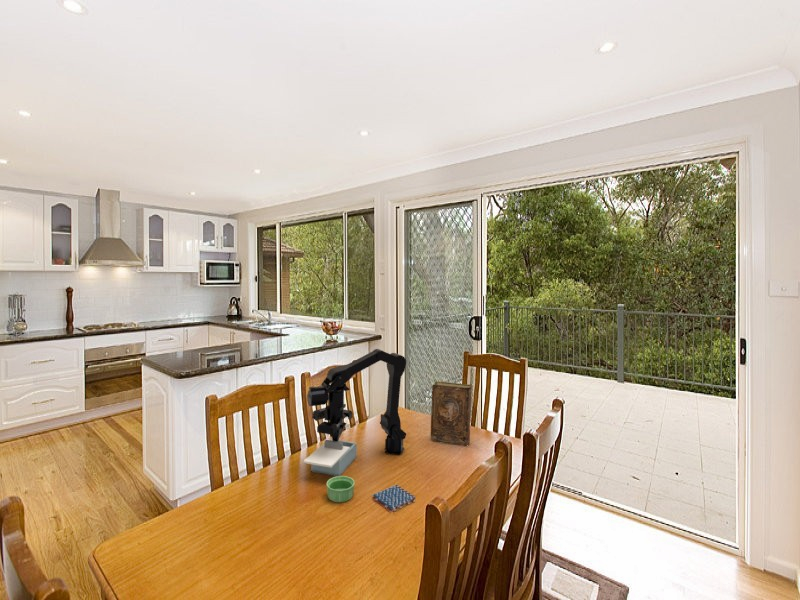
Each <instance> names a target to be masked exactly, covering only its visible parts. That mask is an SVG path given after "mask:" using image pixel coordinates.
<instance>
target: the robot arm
mask: <svg viewBox="0 0 800 600" xmlns="http://www.w3.org/2000/svg"><path fill="white" fill-rule="evenodd" d="M380 361H381V362H383V363H386V369H387V372H388V387H387V396H386V397H387V399H386V408H385V412H384V414H380V421H379V425H380V428H381V429H382V430H383V431H384V433H385V435H386V437H385V440H384V449H385V451H384V453H385V454H390V455H397V456H401V455H402V453H403V451H404V450H405V447H404V440H405V439H406V435H407V433H406V432H405V431H404V430H403V429H402V427H401V426H402V425H401V424H402V423H401V418H400V413H399V403H400V392H401V381H402V380H401V379H402V376H403V375H404V373H405V370H406V366H407V358H406V357H405V356H404V355H402V354H399V353H396V352H391V353H389V352H386V351H384V350H381V349H379V348H375V349H373V350H372V351H369V352H368V353H367V354H365V355H363V356H360V357H358V358H357V359H354V360H353V361H350V362H349V363H347V364H342V365H338V366H334V367H332V368H330V369H329V370H328V371H327V374H326V376H325V378H324V380H323V381H322V382H321V384H320V385H321V386H320V385H319V386H309V387H308V389H309V390H308V392H307V394H306V399H307V404H308V407H315V406H323V405H326V404H328V405H326V406H325V407H323V408H319V409H316V410H313V411H312V419H313V420H314V421H316V422H318V421H319V420H320V421H321V420H324V421H322V422H320V423H319V424H318V425H317V426H316V432H317V433H319V434H325V435H330V436H331V439H332V440H333V441H337V442H338V440H340V437H341V435H342V433H343V432H344V430H345V427H346V425H347V422H344V419H346V418H347V419H348V420H352V419H353V415H354V414H353V412H352V410H351V409H345V408H346V407H347V406H346V405H347V404H346V403H344V402H345V392H346V391H350V387H348V385H346V383H348V382H349V381H350V379H352V378H353V376H354V375H356V374H358V373H359V372H361V371H364V370H365V369H367V368H369V367H371V366H372V365H374V364H377V363H378V362H380Z"/></svg>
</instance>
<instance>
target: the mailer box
mask: <svg viewBox="0 0 800 600" xmlns="http://www.w3.org/2000/svg"><path fill="white" fill-rule="evenodd" d="M330 440H331V441H333V440H332V438H331V439H330ZM338 442H343V446H347V447H350V449H349V450H348V451H347V452H346V453H345V454H344V455H343V456H342V457H341V458H340V460H339V461H338V462H337V463H336V464H335V465H334V466H333V467H332V468H330V467H324V466H318V465H312V464H310V472H311V471H312V472H311V473H318V474H324V475H330V476H333V477H336V476H342V474H343V473H344V472H345V471H346V469H348V467H349V466H350V465H351V464H352V463H353V462H354V460H355V459H357V456H358V455H357V454H358V451H357V449H358V448H357V446H358V443H357V442H352V441H347V440H346V441H345V440H340V439H339V440H338Z"/></svg>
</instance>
